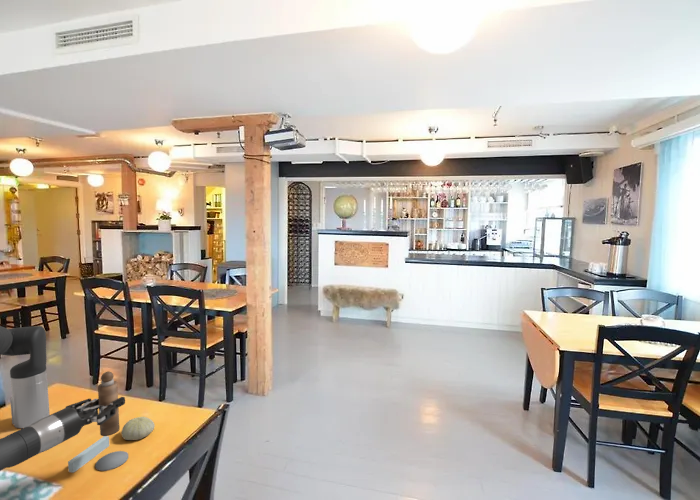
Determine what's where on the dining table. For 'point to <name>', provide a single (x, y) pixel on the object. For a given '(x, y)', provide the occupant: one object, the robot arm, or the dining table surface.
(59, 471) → the dining table surface
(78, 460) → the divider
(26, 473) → the dining table surface
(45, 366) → the robot arm
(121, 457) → the gray pad
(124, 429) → the sea urchin shell
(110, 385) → the pepper mill
